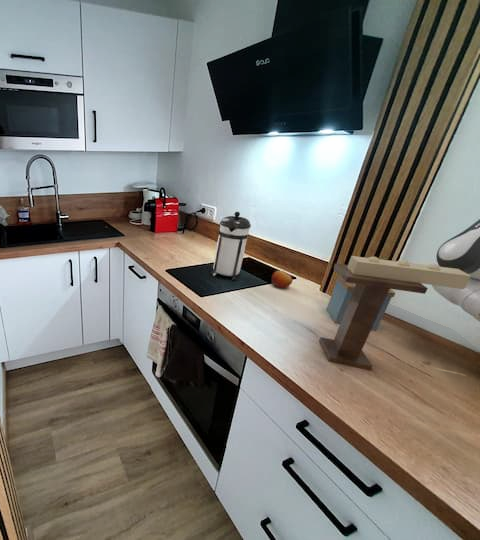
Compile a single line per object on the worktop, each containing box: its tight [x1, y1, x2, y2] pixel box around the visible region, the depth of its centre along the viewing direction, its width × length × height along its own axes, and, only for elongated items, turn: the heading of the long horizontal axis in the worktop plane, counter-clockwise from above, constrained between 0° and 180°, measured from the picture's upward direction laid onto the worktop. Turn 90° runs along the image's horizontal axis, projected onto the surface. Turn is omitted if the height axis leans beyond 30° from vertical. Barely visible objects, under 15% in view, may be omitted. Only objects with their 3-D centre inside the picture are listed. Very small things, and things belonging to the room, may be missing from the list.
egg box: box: [347, 255, 471, 289], centre depth 71 cm, size 22×4×5 cm, turn 70°
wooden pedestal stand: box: [318, 263, 429, 371], centre depth 79 cm, size 16×10×26 cm, turn 70°
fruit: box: [271, 270, 293, 289], centre depth 124 cm, size 8×8×8 cm
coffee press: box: [210, 211, 252, 282], centre depth 131 cm, size 17×16×30 cm
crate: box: [326, 273, 396, 331], centre depth 99 cm, size 13×11×14 cm
